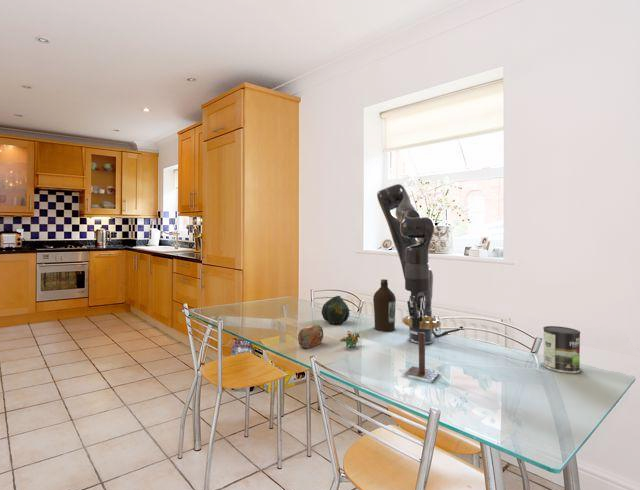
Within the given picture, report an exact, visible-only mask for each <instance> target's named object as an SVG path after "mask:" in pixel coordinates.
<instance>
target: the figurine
mask: <svg viewBox="0 0 640 490" xmlns="http://www.w3.org/2000/svg"><path fill="white" fill-rule="evenodd" d="M351 333H352V332H351V330H347V336H346V337H343V338H341V339H340V340H339V342H341V343H343V342H344V343H345V344H346V348H349V349H352V347H353V346H354V348H355V347H356V345H357V343H359V338H361V337H360V333H359V332H354V333H352V334H351Z"/></svg>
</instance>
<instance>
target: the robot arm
mask: <svg viewBox="0 0 640 490" xmlns="http://www.w3.org/2000/svg"><path fill="white" fill-rule="evenodd" d="M376 198H377V201H378V204H379V206H380V209H381V211H382V213H383V216H384V219H385V220H386V223H387V226H388V229H389V232H390V236H391V238H392V242H393V245H394V247H395V249H396V252H397V255H398V258H399V262H400V265H401V269H402V274H403V279H404V289H405V290H406V291H407V292H410V296H409V297H408V300H407V302H406V303H407V309H408V316H411V317H412V327H409V326H408V331H409V333H408V340H409V342H411V343H414V344H418V345H419V332H424V333H425V345H429V344H430V345H431V344H432V343H433V336H434V337H436V338H440V337H443V336H444V335H446V334H451V333H455V332H459V331H460V330H461V329H462V328H464V326H459V327H458V328H461V329H458V328H456V329H451V330H446V331H443V332H442V333H440V334H437V333H436V332H435V331H434V329H419V328H420V321H421V322H422V316H429V317H433V307H432V306H433V305H432V304H433V303H432V302H433V295H434V294H433V291H434V288H433V287H434V273H433V271H432V269H431V268H430V265H429V264H430V263H429V259H430V257H429V255H430V254H429V252H430V247H431V241H432V239H433V236H434V233H435V222H434V221H433V219H432V218H431V217H427V216H421V214H420V212H419V211H418V210H417V209H416V208H415V206H414V204H413V201H412V200H411V198H410V196H409V193H408V191H407V189H406V188H405V186H404V185H402V184H401V183H395V184H393V185H390V186H387V187H385V188H382V189H380V190H378V191H377V193H376ZM392 210H395V214H394V213H393V212H392ZM418 239H420V240H419V241H418Z"/></svg>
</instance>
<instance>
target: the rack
mask: <svg viewBox="0 0 640 490" xmlns="http://www.w3.org/2000/svg"><path fill="white" fill-rule="evenodd" d="M404 375H408V376H412V377H417V378H421V379H426V380H429V381H430V380H431V384H433V383H434V382H435V381H436V380H437V379H438V377H439V376H440V371H436V370H432V369H427V368H426V344H425V333H424V332H419V344H418V367H417V366H411V367H410V368H409V369H408V370H407V371H405V372H404Z"/></svg>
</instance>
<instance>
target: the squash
mask: <svg viewBox="0 0 640 490" xmlns="http://www.w3.org/2000/svg"><path fill="white" fill-rule="evenodd" d="M321 316H322V318H323V320H324V321H327V322H329V323H330V324H332V325H334V324H335V325H336V324H338V325H340V324H341V323H345V322H347V320H348V319H349V318H350V307H349V306H348V305H347V303H346V302H345V300H344V299H343V298H342V297H341V295H336V296H333V297H331V298H330V299H328V300H327V301H326V302H325V303H324V304H323V305H322V308H321Z"/></svg>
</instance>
